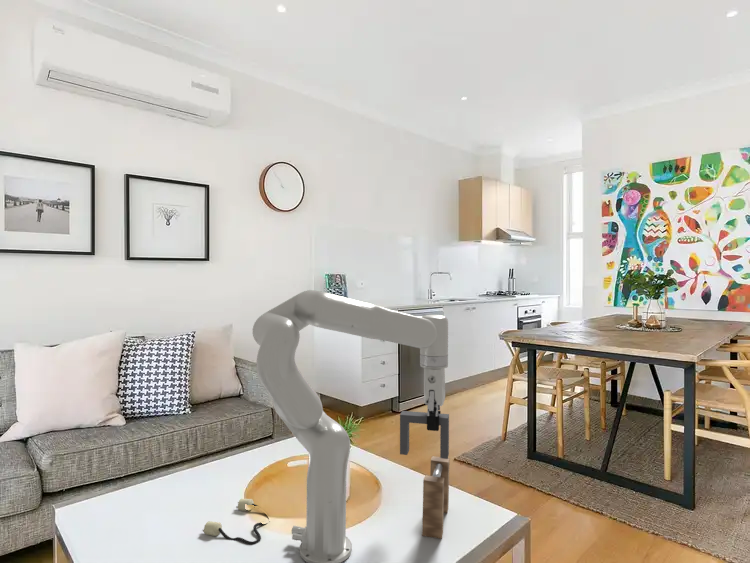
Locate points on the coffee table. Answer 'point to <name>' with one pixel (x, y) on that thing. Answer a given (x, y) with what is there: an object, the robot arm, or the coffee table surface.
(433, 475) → the hook stand
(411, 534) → the coffee table surface
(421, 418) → the grey channel bracket
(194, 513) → the coffee table surface
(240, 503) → the cable
